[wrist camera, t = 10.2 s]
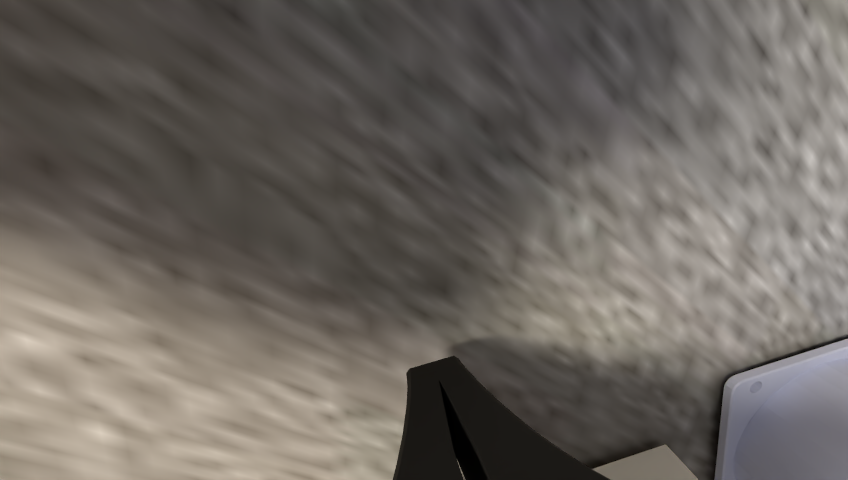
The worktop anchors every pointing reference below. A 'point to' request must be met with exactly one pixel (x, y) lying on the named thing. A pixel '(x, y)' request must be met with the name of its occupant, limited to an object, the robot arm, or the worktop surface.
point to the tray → (648, 466)
